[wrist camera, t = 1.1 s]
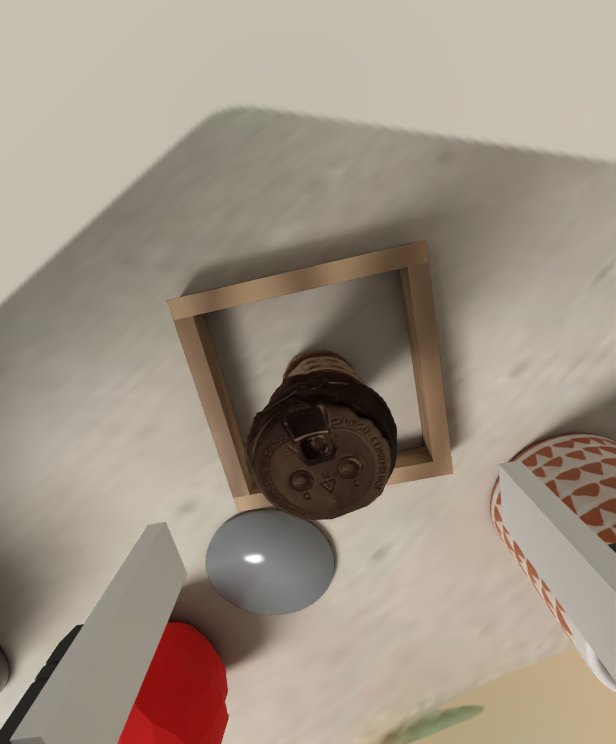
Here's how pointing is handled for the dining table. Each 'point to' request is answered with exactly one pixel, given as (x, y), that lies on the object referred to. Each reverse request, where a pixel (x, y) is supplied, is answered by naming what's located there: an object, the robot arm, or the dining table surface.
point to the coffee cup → (322, 440)
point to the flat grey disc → (270, 562)
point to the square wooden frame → (406, 258)
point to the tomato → (180, 693)
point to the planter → (583, 496)
